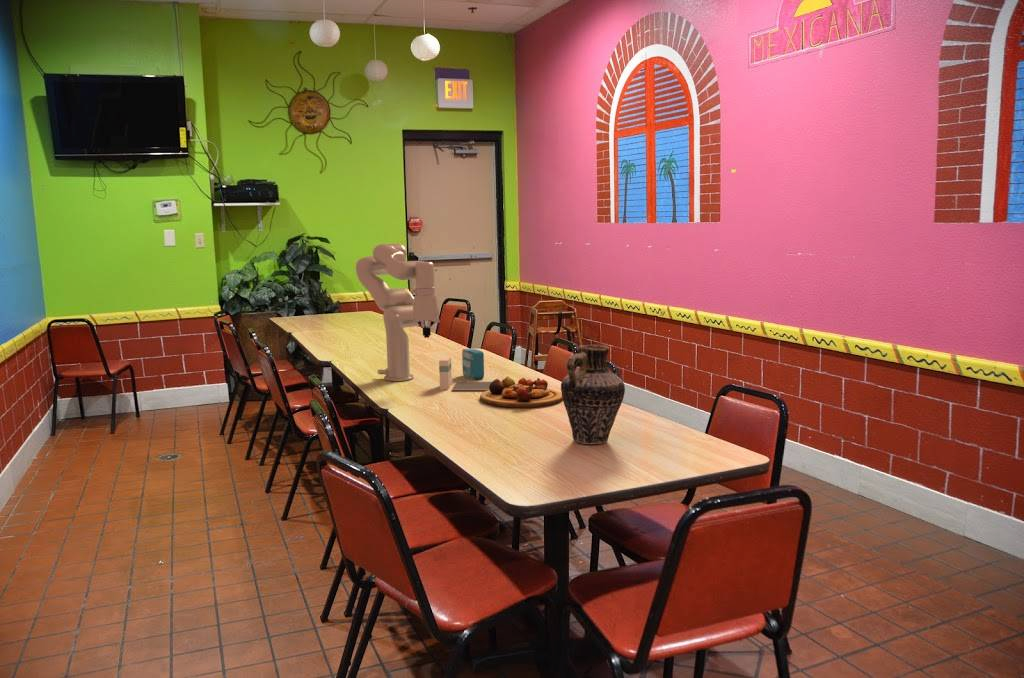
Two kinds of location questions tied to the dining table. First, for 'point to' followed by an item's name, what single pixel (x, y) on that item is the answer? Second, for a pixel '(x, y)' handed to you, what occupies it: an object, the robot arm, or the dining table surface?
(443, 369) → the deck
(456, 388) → the mat
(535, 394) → the wooden plate with food
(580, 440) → the jug
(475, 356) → the data package
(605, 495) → the dining table surface
